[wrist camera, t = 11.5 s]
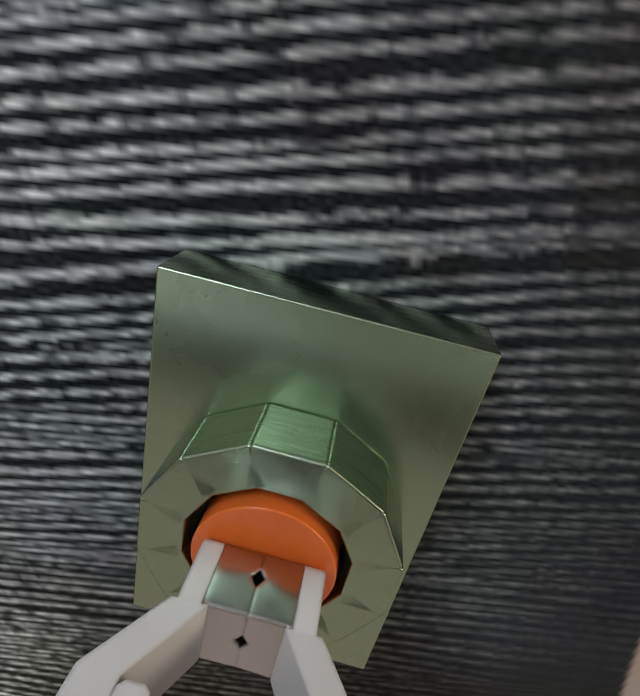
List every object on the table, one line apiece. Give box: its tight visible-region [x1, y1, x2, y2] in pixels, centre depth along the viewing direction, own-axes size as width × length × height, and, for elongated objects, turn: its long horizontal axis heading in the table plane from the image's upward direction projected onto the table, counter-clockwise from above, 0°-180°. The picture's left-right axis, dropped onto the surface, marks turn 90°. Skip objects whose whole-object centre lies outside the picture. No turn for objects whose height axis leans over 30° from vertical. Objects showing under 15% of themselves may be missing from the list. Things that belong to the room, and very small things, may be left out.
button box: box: [133, 250, 501, 669], centre depth 13 cm, size 12×8×4 cm, turn 167°
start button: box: [191, 489, 341, 601], centre depth 12 cm, size 4×4×2 cm
